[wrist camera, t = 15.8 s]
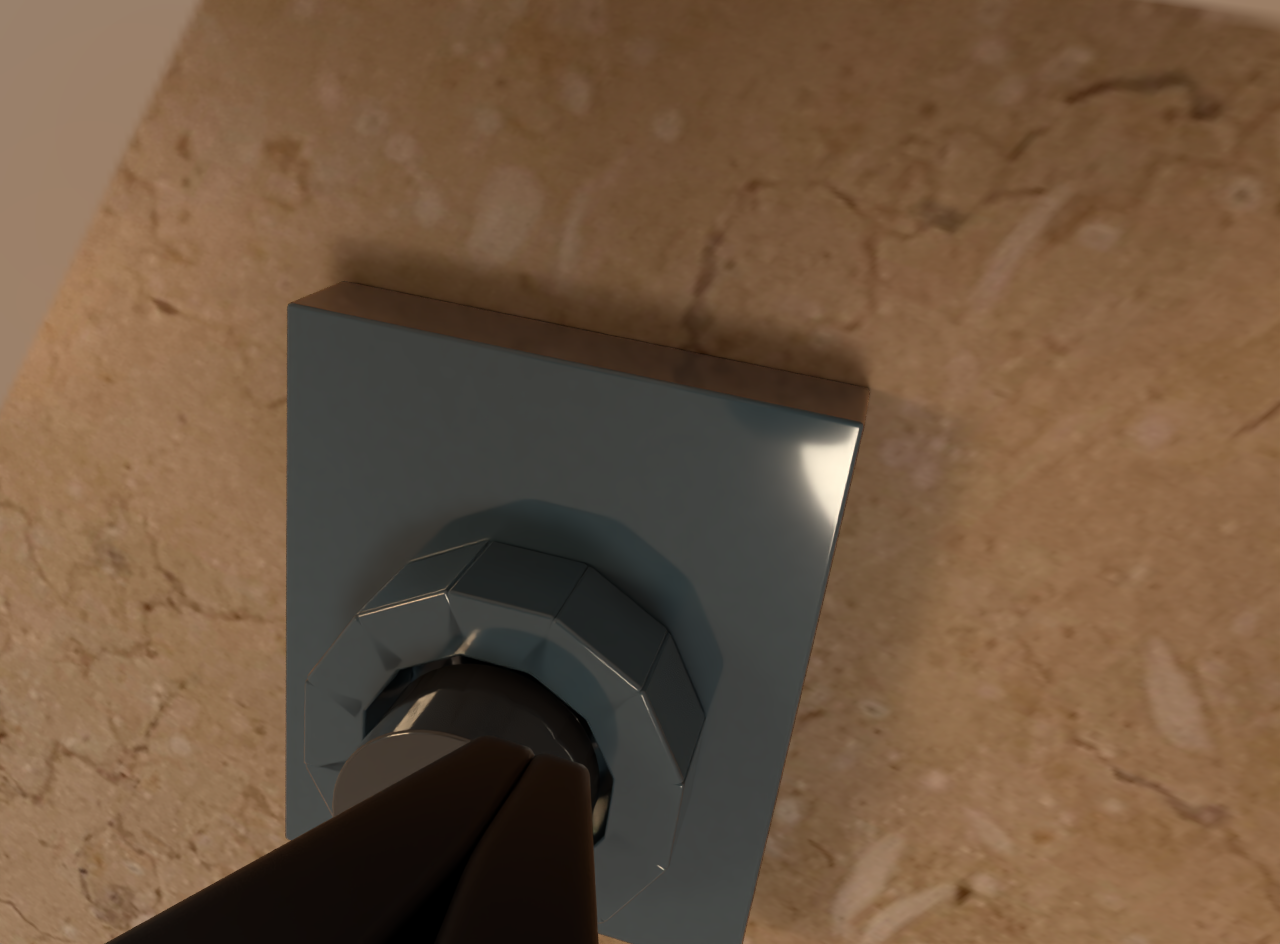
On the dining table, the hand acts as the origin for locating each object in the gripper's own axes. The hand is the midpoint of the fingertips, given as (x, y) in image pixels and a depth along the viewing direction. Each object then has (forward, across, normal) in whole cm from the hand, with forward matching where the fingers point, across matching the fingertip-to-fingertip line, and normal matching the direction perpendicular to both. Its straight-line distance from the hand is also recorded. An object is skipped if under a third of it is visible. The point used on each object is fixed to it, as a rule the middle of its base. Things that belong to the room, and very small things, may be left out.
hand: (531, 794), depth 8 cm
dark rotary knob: (+8, +3, +7) cm, 11 cm away
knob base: (+12, +3, +6) cm, 14 cm away
